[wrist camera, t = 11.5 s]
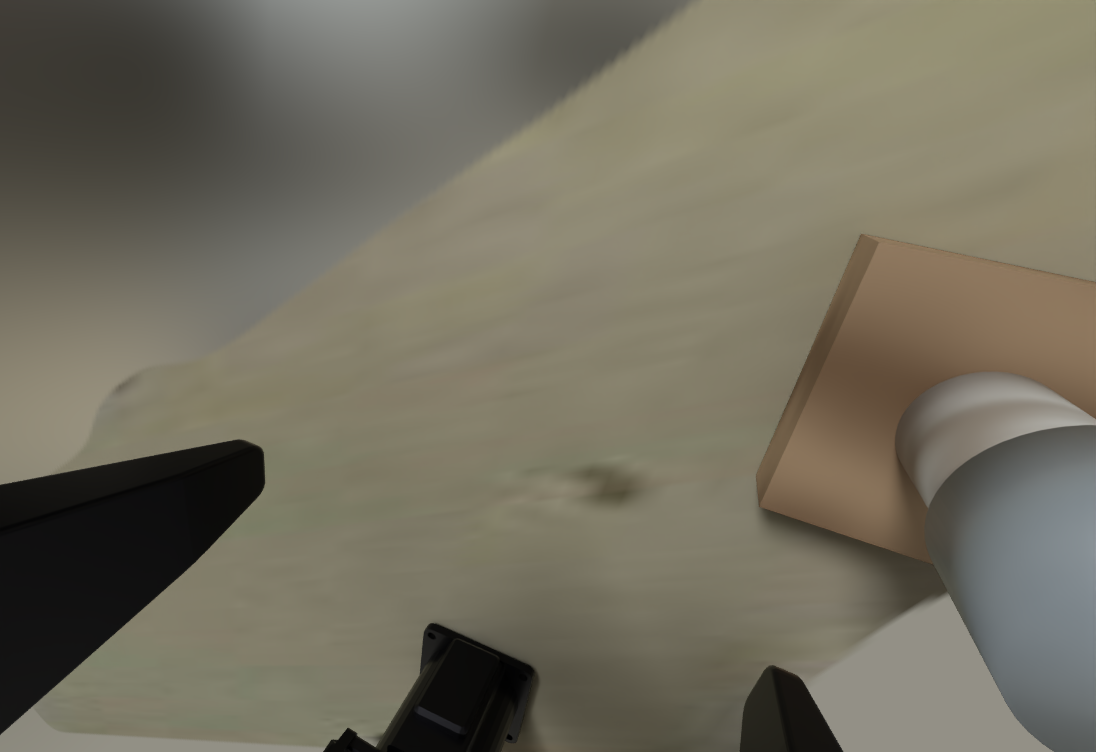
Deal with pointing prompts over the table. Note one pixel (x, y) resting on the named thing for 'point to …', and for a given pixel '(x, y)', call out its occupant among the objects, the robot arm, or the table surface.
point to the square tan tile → (924, 385)
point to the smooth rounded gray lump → (1028, 574)
